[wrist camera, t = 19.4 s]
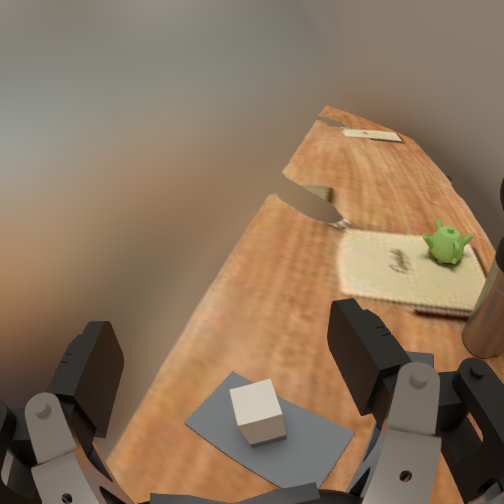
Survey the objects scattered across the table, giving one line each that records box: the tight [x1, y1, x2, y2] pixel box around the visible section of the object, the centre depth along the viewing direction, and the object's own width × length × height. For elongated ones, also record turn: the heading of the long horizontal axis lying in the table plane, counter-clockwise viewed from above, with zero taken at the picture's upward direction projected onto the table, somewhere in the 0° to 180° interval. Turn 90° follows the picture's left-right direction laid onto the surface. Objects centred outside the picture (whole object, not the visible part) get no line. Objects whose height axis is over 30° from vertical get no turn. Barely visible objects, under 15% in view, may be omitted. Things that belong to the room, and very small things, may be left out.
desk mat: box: [184, 371, 355, 488], centre depth 34 cm, size 22×12×1 cm, turn 53°
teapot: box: [423, 220, 473, 264], centre depth 56 cm, size 11×12×8 cm
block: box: [230, 379, 287, 448], centre depth 32 cm, size 5×5×10 cm
